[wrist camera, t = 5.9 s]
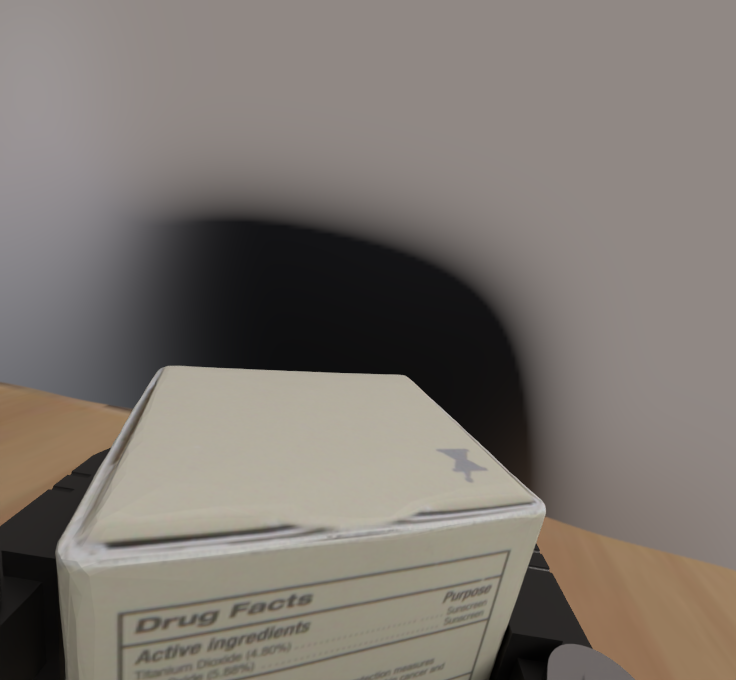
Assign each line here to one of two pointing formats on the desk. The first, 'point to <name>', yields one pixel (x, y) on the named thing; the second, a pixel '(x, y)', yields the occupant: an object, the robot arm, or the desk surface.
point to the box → (292, 536)
